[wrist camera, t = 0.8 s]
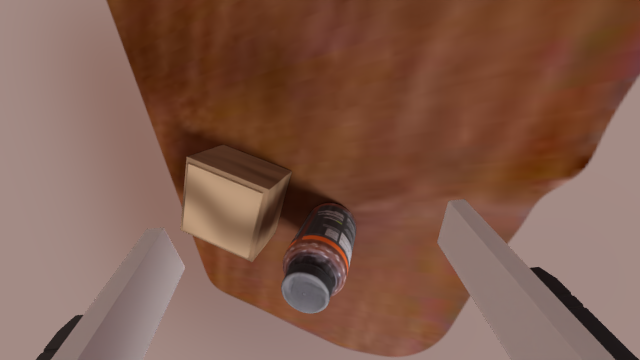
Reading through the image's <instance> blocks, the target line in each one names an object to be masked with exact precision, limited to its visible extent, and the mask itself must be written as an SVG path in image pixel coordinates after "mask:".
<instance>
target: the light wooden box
mask: <svg viewBox="0 0 640 360" xmlns="http://www.w3.org/2000/svg"><path fill="white" fill-rule="evenodd" d="M291 173H292V171H290V170H287V169H285V168H282V167H280V166H277V165H275V164H272V163H269V162H267V161H264V160H262V159H259V158H256V157H254V156H251V155H249V154H246V153H244V152H241V151H238V150H236V149H233V148H231V147H228V146H225V145H221V146H218V147H215V148H212V149H209V150H206V151H203V152H199V153H196V154H193V155H190V156H187V159H186V171H185V182H184V194H183V205H182V217H181V228H180V229H181V230H182V231H184V232H186V233H188V234H191V235H193V236H195V237H197V238H199V239H202V240H204V241H206V242H208V243H211V244H213V245H215V246H217V247H220V248H222V249H224V250H226V251H229V252H231V253H233V254H235V255H238V256H240V257H242V258H244V259H246V260H249V261H251V262H252V261H253V260H254V259H255V258H256V256H257V255H258V254H259V253H260V251H261V250H262V249H263V248H264V246H265V245H266V244H267V243H268V241H269V240H270V239H271V238H272V236H273V235H274V234H275V231H276V228H277V224H278V220H279V217H280V213H281V209H282V206H283V202H284V198H285V195H286V191H287V187H288V184H289V180H290V176H291Z"/></svg>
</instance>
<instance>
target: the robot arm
mask: <svg viewBox="0 0 640 360" xmlns="http://www.w3.org/2000/svg"><path fill="white" fill-rule="evenodd" d="M437 243H438V245H439V246H440V248H441V249H442V251H443V252H444V254H445V256H446V257H447V259H448V260H449V262H450V264H451V265H452V267H453V268H454V270H455V271H456V273H457V275H458V276H459V278H460V279H461V281H462V283H463V284H464V286H465V287H466V289H467V290H468V292H469V294H470V295H471V297H472V298H473V300H474V301H475V303H476V305H477V306H478V308H479V309H480V311H481V312H482V314H483V316H484V317H485V319H486V321H487V322H488V324H489V325H490V327H491V328H492V330H493V332H494V333H495V334H496V336H497V338H498V339H499V341H500V343H501V344H502V346H503V347H504V349H505V350H506V352H507V354H508V355H509V357H510V358H511V360H639V359H638V358H637V357H635V356H634V355H633V354H632V353H631V352H630V351H629V350H628V349H627V348H626V347H625V346H624V345H623V344H622V343H621V342H620V341H619V340H618V339H617V338H616V337H615V336H614V335H613V334H612V333H611V332H610V331H609V330H608V329H607V328H606V327H605V326H604V325H603V324H602V323H601V322H600V321H599V320H598V319H597V318H596V317H595V316H594V315H593V314H592V313H591V312H590V311H589V310H588V309H587V308H584V307H583V304H582V303H581V302H580V301H579V300H578V299H577V298H576V297H575V296H572V295H571V292H570V291H569V290H568V289H567V288H565V286H564V285H563V284H562V283H561V282H560V281H558V280H557V278H555V277H553V276H552V275H550V274H549V273H547V272H546V271H544V270H543V269H541V268H540V267H535V268H529V267H528V266H527V265H526V264H525V263H524V262H523V261H522V260H521V259H520V258H519V257H518V256H517V254H515V252H514V251H513V250H512V249H511V248H510V247H509V246H508V245H507V244H506V243H505V242H504V241H503V240H502V239H501V237H500V236H499V235H498V234H497V233H496V232H495V231H494V230H493V229H492V228H491V227H490V226H489V225H488V224H487V223H486V221H485V220H484V219H483V218H482V217H481V216H480V215H479V214H478V213H477V212H476V211H475V210H474V209H473V208H472V207H471V206H470V204H469V203H468V202H467V201H466V200H465V199H463V200H452V201H448V205H447V209H446V212H445V216H444V220H443V223H442V227H441V231H440V234H439V238H438V242H437ZM184 269H185V266H184V264H183V262H182V261H181V259H180V257H179V255H178V253H177V252H176V249H175V247H174V246H173V244H172V242H171V240H170V238H169V236H168V234H167V233H166V231H165V229H164V228H154V229H147V230H146V231H145V232H144V234H143V235H142V236H141V238H140V239H139V240H138V242H137V243H136V245H135V246H134V247H133V249H132V250H131V251H130V253H129V254H128V255H127V257H126V258H125V259H124V261H123V262H122V263H121V265H120V266H119V268H118V269H117V270H116V272H115V273H114V274H113V276H112V277H111V278H110V280H109V281H108V283H107V284H106V285H105V287H104V288H103V289H102V291H101V292H100V293H99V295H98V296H97V298H96V299H95V300H94V302H93V303H92V304H91V306H90V307H89V308H88V310H87V311H86V313H85V314H84V315H77V316H75V317H74V318H73V319H71V320H70V321H69V322H68V323H67V324H66V325H65V326H64V327H62V328H61V329H60V330H59V331H58V332H57V333H56V335H55V336H54V337H53V338H52V340H51V341H50V342H49V344H48V345H47V346H46V348H45V349H44V352H43V353H41V354H40V355H39V356H38V358H37V359H36V360H143V358H144V356H145V353H146V351H147V349H148V347H149V345H150V343H151V340H152V338H153V336H154V334H155V332H156V330H157V327H158V325H159V323H160V321H161V318H162V317H163V314H164V312H165V310H166V308H167V306H168V304H169V301H170V299H171V297H172V295H173V293H174V291H175V289H176V286H177V284H178V282H179V280H180V277H181V276H182V273H183V271H184Z"/></svg>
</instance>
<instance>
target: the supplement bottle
mask: <svg viewBox="0 0 640 360" xmlns="http://www.w3.org/2000/svg"><path fill="white" fill-rule="evenodd" d="M355 235H356V222H355V219H354V217H353V216H352V214H351V213H350V212H349V211H348V210H347V209H346V208H344V207H343V206H341V205H338V204H334V203H325V204H321V205H319V206H317V207H315V208H314V209H313V210H312V211H311V212H310V214H309V215H308V217H307V218H306V220H305V222H304V223H303V225H302V227H301V228H300V230H299V231H298V233H297V235H296V236H295V238H294V239H293V241H292V243H291V244H290V246H289V248H288V250H287V251H286V253H285V256H284V259H283V271H284V275H285V278H284V280H283V282H282V286H281V290H282V294H283V297H284V298H285V300H286V301H287V303H288V304H289V305H291V306H292V307H293V308H295V309H297V310H298V311H301V312H304V313H317V312H320V311H322V310H323V309H325V308H326V306H327V305H328V303H329V300H330V297H331V296H333V295H335V294H337V293H338V292H339V291H340V290H341V289H342V287H343V286H344V284H345V281H346V278H347V274H348V270H349V265H350V260H351V255H352V250H353V245H354V240H355Z"/></svg>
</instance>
